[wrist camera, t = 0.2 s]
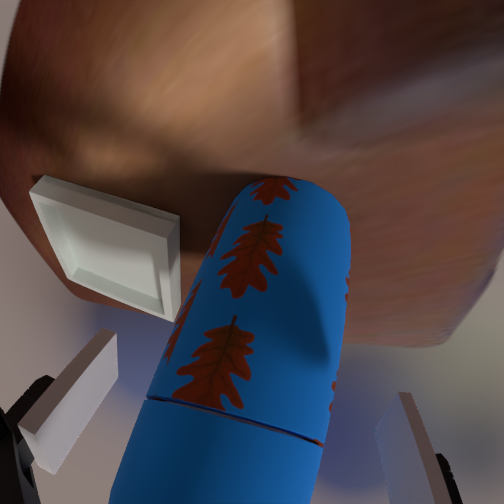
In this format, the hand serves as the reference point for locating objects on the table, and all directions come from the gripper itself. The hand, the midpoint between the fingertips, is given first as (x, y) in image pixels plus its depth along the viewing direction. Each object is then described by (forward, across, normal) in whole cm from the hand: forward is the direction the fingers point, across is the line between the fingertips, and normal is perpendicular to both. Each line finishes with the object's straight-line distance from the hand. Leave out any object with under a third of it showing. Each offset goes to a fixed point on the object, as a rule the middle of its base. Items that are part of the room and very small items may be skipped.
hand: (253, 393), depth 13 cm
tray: (+23, -19, -5) cm, 30 cm away
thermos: (+17, +1, +4) cm, 17 cm away
